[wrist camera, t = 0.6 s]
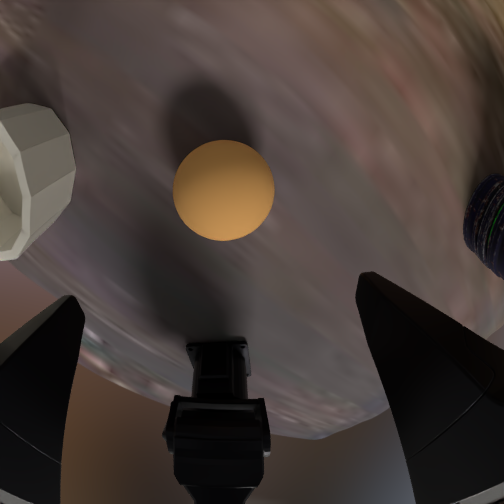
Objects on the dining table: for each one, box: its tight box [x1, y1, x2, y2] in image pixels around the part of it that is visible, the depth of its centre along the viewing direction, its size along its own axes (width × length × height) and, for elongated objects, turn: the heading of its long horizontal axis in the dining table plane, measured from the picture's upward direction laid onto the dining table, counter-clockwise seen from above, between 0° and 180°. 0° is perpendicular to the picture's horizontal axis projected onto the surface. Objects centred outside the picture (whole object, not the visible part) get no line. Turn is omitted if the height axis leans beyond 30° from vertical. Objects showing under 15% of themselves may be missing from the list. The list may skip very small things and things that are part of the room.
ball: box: [173, 140, 275, 241], centre depth 16 cm, size 6×6×6 cm
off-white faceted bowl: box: [0, 103, 76, 261], centre depth 14 cm, size 11×11×6 cm
